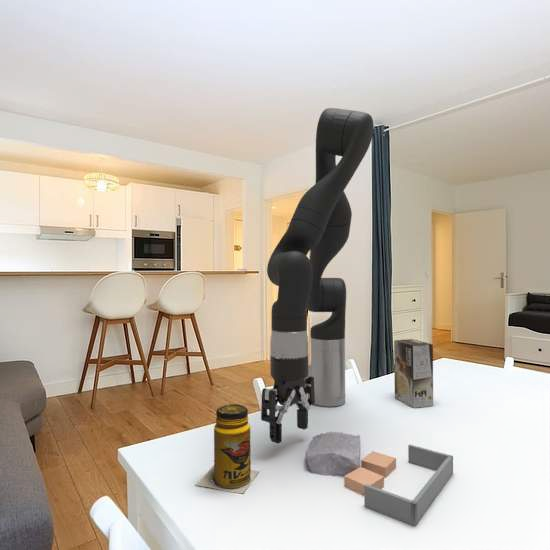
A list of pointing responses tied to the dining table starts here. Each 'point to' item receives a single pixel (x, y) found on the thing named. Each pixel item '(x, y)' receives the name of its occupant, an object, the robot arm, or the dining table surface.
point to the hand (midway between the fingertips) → (289, 434)
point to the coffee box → (413, 372)
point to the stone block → (333, 454)
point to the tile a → (363, 480)
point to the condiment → (230, 451)
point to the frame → (418, 506)
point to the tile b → (379, 463)
